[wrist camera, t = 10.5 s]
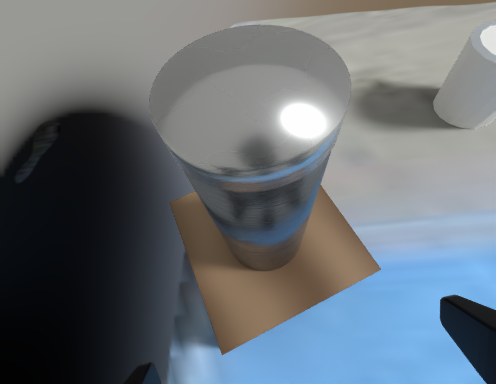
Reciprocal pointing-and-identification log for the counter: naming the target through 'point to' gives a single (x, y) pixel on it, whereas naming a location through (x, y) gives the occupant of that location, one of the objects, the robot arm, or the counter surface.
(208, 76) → the tea tin
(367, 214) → the counter surface
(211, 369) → the counter surface
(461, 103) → the shot glass
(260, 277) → the walnut block
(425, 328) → the counter surface
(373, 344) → the counter surface
